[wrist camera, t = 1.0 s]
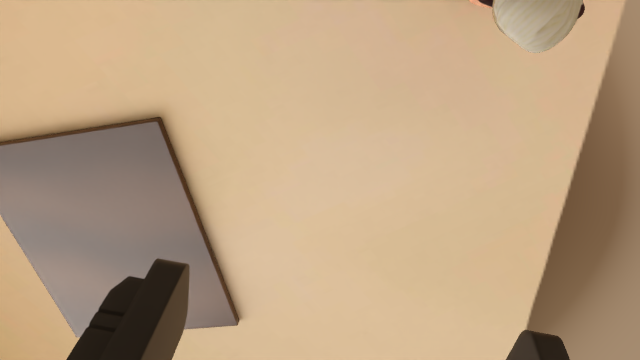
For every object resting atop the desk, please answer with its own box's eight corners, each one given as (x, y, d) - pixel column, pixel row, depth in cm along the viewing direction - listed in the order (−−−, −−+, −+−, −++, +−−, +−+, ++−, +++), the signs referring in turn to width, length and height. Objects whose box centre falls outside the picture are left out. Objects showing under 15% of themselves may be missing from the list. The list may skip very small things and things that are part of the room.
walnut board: (-35, 147, 39) (-40, 151, 38) (160, 116, 36) (157, 120, 35) (79, 332, 48) (76, 337, 48) (239, 320, 45) (237, 325, 45)
